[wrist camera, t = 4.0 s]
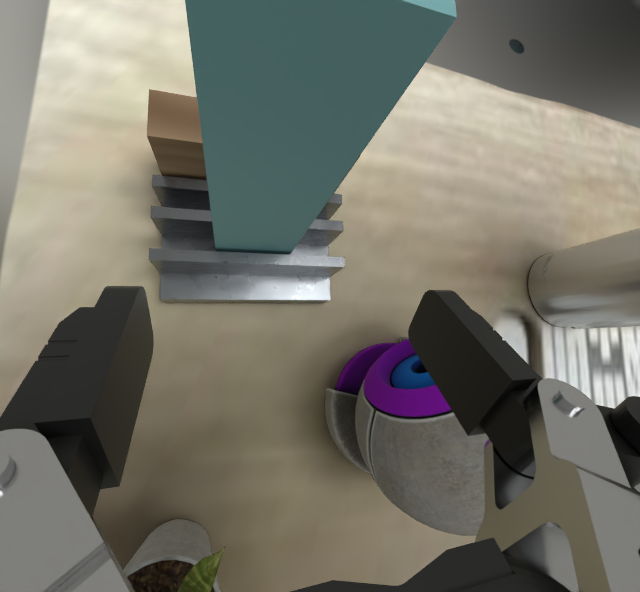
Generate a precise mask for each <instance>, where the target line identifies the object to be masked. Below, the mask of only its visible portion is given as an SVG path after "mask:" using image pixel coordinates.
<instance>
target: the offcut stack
mask: <svg viewBox="0 0 640 592" xmlns="http://www.w3.org/2000/svg"><path fill="white" fill-rule="evenodd" d="M147 137H148V140H149V142H150V145H151V147H152V150H153V153H154V155H155V158H156V160H157V163H158V166H159V168H160V171H161V174H162V176H169V177H179V178H188V179H198V180H207V175H206V167H205V159H204V151H203V142H202V134H201V126H200V118H199V110H198V101H197V98H196V97H190V96H184V95H179V94H173V93H167V92H161V91H156V90H150V89H149V104H148V124H147ZM359 157H360V156H359ZM359 157H358V158H359ZM357 160H358V159H357ZM357 160H356V161H357ZM354 164H355V163H354ZM354 164H353V165H354ZM352 167H353V166H352ZM352 167H351V168H352ZM350 170H351V169H350ZM350 170H349V171H350ZM347 174H348V173H347ZM347 174H346V175H347ZM345 177H346V176H345ZM345 177H344V178H345ZM342 181H343V180H342ZM340 184H341V183H340ZM340 184H339V185H340ZM338 187H339V186H338ZM338 187H337V188H338ZM335 191H336V190H335ZM335 191H334V192H335ZM333 194H334V193H333Z"/></svg>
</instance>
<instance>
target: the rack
mask: <svg viewBox="0 0 640 592" xmlns="http://www.w3.org/2000/svg"><path fill="white" fill-rule="evenodd" d="M152 186H153V188H154V190H155V193H156V195H157V197H158V199H159V201H160V203H161V205H162V207H157V206H151V218H152V220H153V222H154V223H155V225H156V227H157V228H158V230H159V232H160V233H161V235H162V249H152V248H149V261H150V262H151V263H152V264H153V265H154V266H155V267H156V268H157V269H158V270H159V271H160V273H161V281H160V300H162V301H163V302H165V303H324V302H327V301H329V300H330V279H329V277H331V276H332V275H334V274H335V273H337V272H338V271H340V270H341V269H343V268H344V267H345V257H329V254H328V245H329V244H330V243H331V242H332V241H333V240H334V239H335V238H336V237H337V236H338V235H339V234H341V233H342V232H343V221H332V220H329V219H330V218H331V217H332V215H333V214H334V213H335V212H336V211H337V209H338V208H339V207H340V206H341V204H342V195H340V194H332V196H331V197H330V199H329V200H328V201H327V203H326V204H325V206H324V207H323V209H322V210H321V211H320V213H319V214H318V216H317V217H316V219H315V220H314V221H313V223H312V224H311V226H310V227H309V229H308V230H307V231H306V233H305V234H304V236H303V237H302V239H301V240H300V241H299V243H298V244H297V246H296V247H295V248H294V250H293V251H292V253H291V254H290V255H284V254H262V253H240V252H218V251H216V249H215V241H214V233H213V225H212V217H211V208H210V200H209V192H208V184H207V180H198V179H188V178H179V177H169V176H160V175H153V178H152Z"/></svg>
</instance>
